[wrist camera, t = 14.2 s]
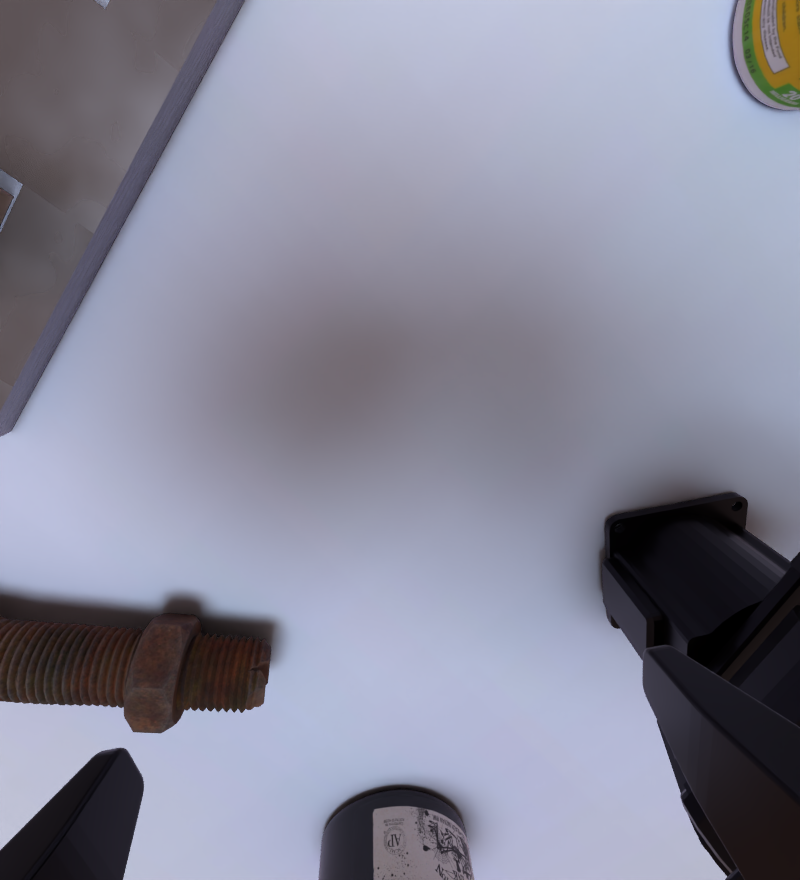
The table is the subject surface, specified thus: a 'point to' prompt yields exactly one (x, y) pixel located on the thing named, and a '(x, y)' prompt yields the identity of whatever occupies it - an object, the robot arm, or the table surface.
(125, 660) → the bolt
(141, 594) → the table surface
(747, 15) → the supplement bottle
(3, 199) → the birch peg
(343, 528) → the table surface
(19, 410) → the strike plate
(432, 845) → the ink bottle
